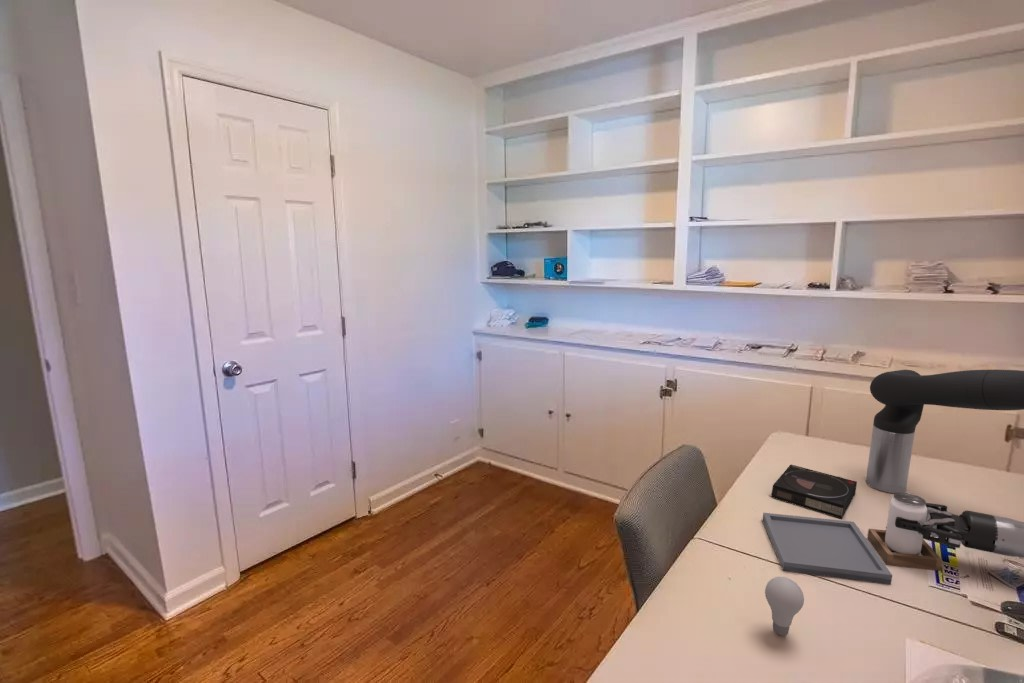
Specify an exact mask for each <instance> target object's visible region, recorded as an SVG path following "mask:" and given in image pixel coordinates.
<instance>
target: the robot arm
mask: <svg viewBox="0 0 1024 683" xmlns="http://www.w3.org/2000/svg"><path fill="white" fill-rule="evenodd" d="M869 391H870V394H871V396H872V397H873V398H874V399H875V401H877V402H879V403H880V404H882V405H884V406H883V408H882V409H880V411H878V412H877V413H875V415H874V417H873V424H872V431H871V438H870V448H869V455H868V461H867V470H866V476H865V477H866V478H865V484H866V485H868V486H869V487H871V488H873V489H875V490H878V491H882V492H885V493H890V494H891V493H892V494H895V493H898V492H905V493H906V491H907V485H908V479H909V473H910V467H911V466H910V465H911V459H912V452H913V446H914V439H915V434H916V428H917V425H918V424H919V422H920V421H921V419H922V414H923V410H924V406H925V405H929V406H930V405H931V406H938V407H939V406H940V407H949V408H958V409H959V408H961V409H970V410H980V411H981V410H985V411H1022V410H1024V370H1017V369H970V370H969V369H966V370H957V371H950V372H944V373H941V372H940V373H936V374H927V375H926V374H925V375H923V374H920V373H919V372H917V371H915V370H913V369H912V370H911V369H899V370H898V369H897V370H891V371H886V372H882V373H880V374H878V375H876V376H875V377H874V378H873V379H872V380H871V382H870V385H869ZM925 505H926V507H927V516H926V521H920V522H919V523H918V521H914V520H908V519H905V518H902V517H896V520H895V526H896V527H897V528H902V529H907V530H912V531H917V533H918V534H921V535H923V539H924V540H926V541H929V542H933V543H937V544H941V545H945V546H949V547H954V548H956V549H960V548H961V545H962V546H964V548H969V549H974V550H977V551H981V552H988V553H991V554H992V553H993V554H997V555H1002V556H1008V557H1012V558H1013V557H1015V558H1022V559H1024V521H1020V520H1017V519H1013V518H1009V517H1006V516H1005V517H1004V516H1000V515H994V514H988V513H985V512H978V511H973V510H968V509H967V510H964V511H962V512H961V514H959V515H958V514H954V513H952V512H948V506H947V505H944V504H938V503H931V502H926V504H925Z"/></svg>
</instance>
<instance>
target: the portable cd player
mask: <svg viewBox="0 0 1024 683" xmlns="http://www.w3.org/2000/svg"><path fill="white" fill-rule="evenodd" d="M857 483H858V481H856V480H851V479H848V478H844V477H841V476H836V475H833V474H829V473H826V472H822V471H817V470H815V469H810V468H806V467H804V466H803V467H802V466H798V465H794V464H789V466H788V467H787V468H786V469H785V471H784V472H783V473H781V475H780V476H779V477H778V479H777V480H776V481H775V482H774V483H773V484H772V488H771V494H770V496H771V498H772V497H774V498H773V499H776V498H777V500H779V499H780V500H779V501H782V500H783V501H782V502H785V501H786V503H788V504H789V503H790V504H792V503H793V504H792V505H795V504H796V506H798V505H799V507H802V508H804V509H808V508H809V510H811V509H812V510H811V511H815V512H818V513H821V514H824V513H825V515H828V516H831V517H835V518H839V519H840V520H842V519H843V518H844V516H845V515H846V512H847V510H848V509H849V507H850V505H851V502H853V499H854V497H855V495H856V491H857V485H858V484H857Z"/></svg>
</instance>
